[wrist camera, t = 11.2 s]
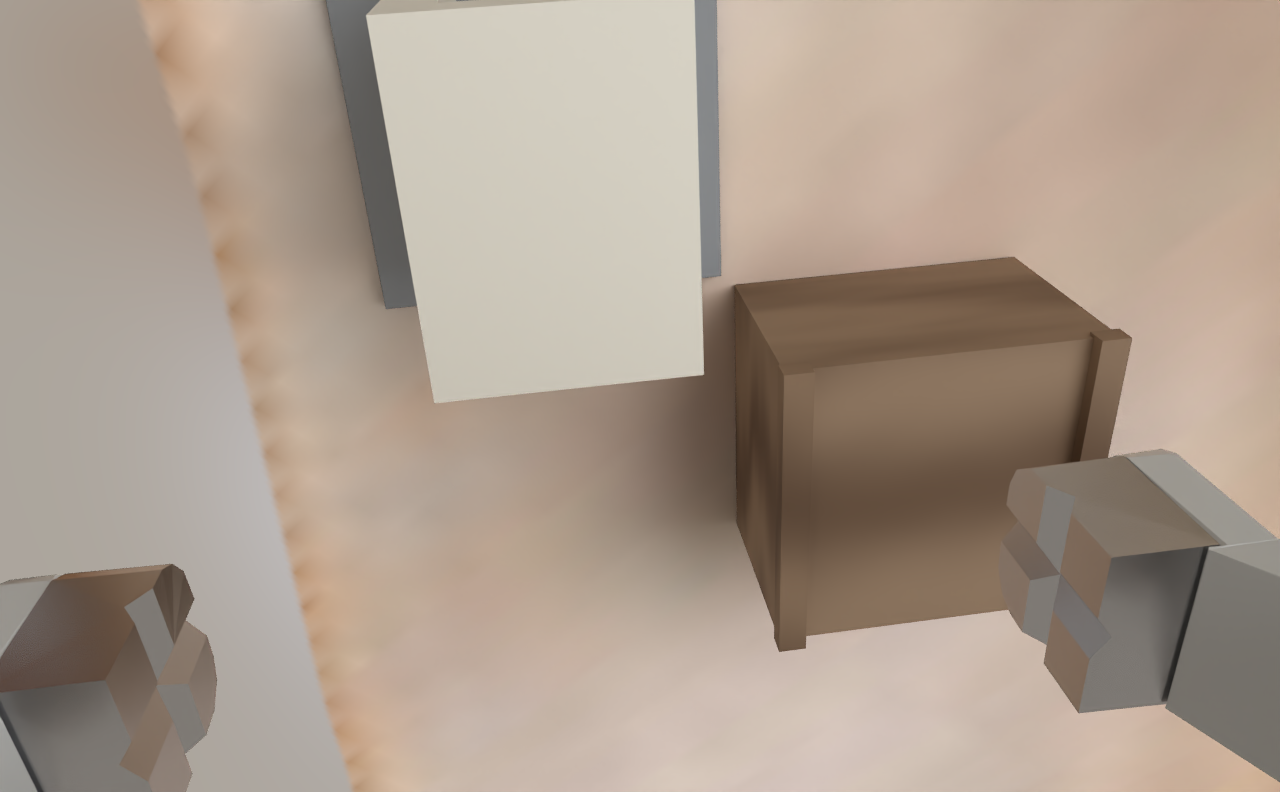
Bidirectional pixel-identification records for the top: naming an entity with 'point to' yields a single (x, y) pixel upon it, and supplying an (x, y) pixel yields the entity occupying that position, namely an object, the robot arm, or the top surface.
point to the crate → (905, 433)
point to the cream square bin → (546, 188)
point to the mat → (375, 166)
